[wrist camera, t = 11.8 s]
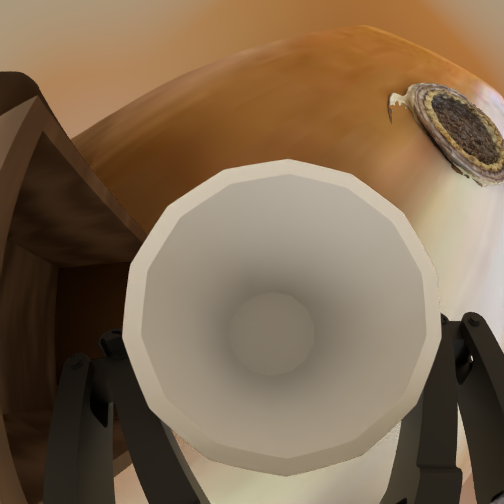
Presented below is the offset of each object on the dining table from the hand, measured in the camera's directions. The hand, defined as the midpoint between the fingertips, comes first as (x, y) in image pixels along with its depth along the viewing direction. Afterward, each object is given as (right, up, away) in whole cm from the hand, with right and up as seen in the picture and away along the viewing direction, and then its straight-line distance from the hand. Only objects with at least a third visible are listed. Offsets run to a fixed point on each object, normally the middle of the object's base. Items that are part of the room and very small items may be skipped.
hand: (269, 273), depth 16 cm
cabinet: (-17, -8, +10) cm, 21 cm away
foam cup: (0, -5, +4) cm, 6 cm away
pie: (+34, +20, +19) cm, 43 cm away
